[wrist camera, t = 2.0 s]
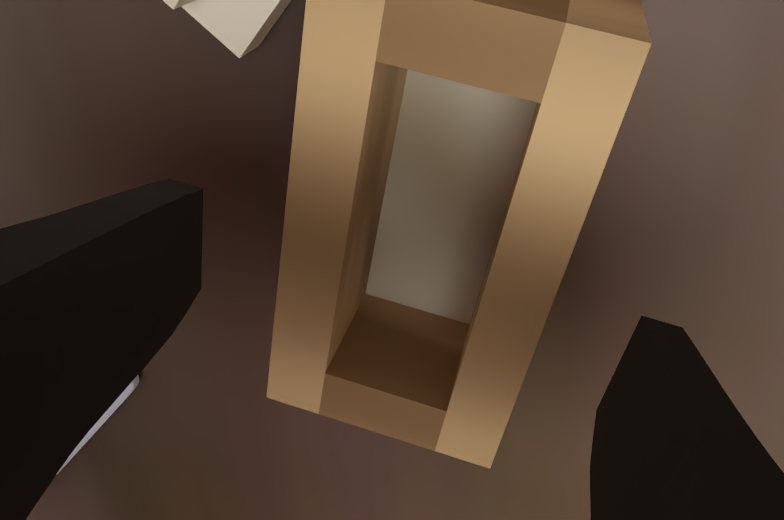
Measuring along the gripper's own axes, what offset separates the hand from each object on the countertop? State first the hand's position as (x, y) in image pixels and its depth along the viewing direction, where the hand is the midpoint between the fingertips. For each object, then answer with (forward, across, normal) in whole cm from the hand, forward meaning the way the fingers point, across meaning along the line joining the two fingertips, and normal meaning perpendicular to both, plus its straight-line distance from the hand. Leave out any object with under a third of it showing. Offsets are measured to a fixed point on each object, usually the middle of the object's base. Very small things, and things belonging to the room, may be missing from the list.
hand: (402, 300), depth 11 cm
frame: (+5, 0, 0) cm, 5 cm away
